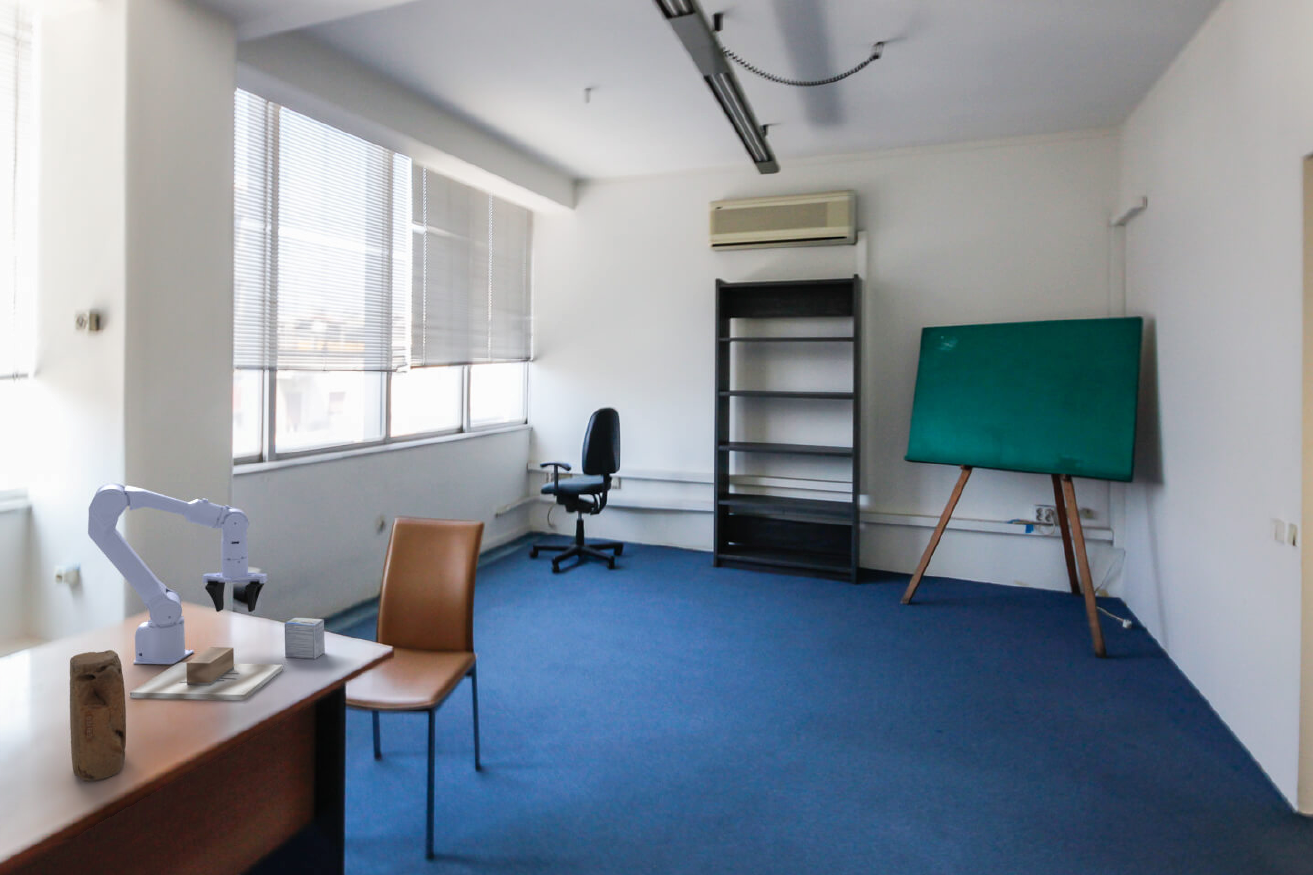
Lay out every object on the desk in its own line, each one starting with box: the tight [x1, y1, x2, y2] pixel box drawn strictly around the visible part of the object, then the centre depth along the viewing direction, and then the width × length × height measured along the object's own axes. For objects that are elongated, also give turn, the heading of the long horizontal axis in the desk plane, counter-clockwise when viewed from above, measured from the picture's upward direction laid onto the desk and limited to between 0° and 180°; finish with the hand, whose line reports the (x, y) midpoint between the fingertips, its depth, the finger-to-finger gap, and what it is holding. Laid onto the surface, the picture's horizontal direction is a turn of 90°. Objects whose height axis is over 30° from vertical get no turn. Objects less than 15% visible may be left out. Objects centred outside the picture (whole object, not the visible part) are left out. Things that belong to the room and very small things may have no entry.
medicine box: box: [284, 617, 326, 660], centre depth 177 cm, size 8×4×9 cm, turn 84°
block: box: [69, 649, 127, 782], centre depth 125 cm, size 11×8×20 cm
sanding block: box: [186, 646, 235, 686], centre depth 161 cm, size 5×9×5 cm, turn 1°
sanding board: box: [129, 661, 284, 701], centre depth 160 cm, size 24×16×1 cm, turn 91°
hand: (235, 610), depth 180 cm, fingers open, 7 cm apart
